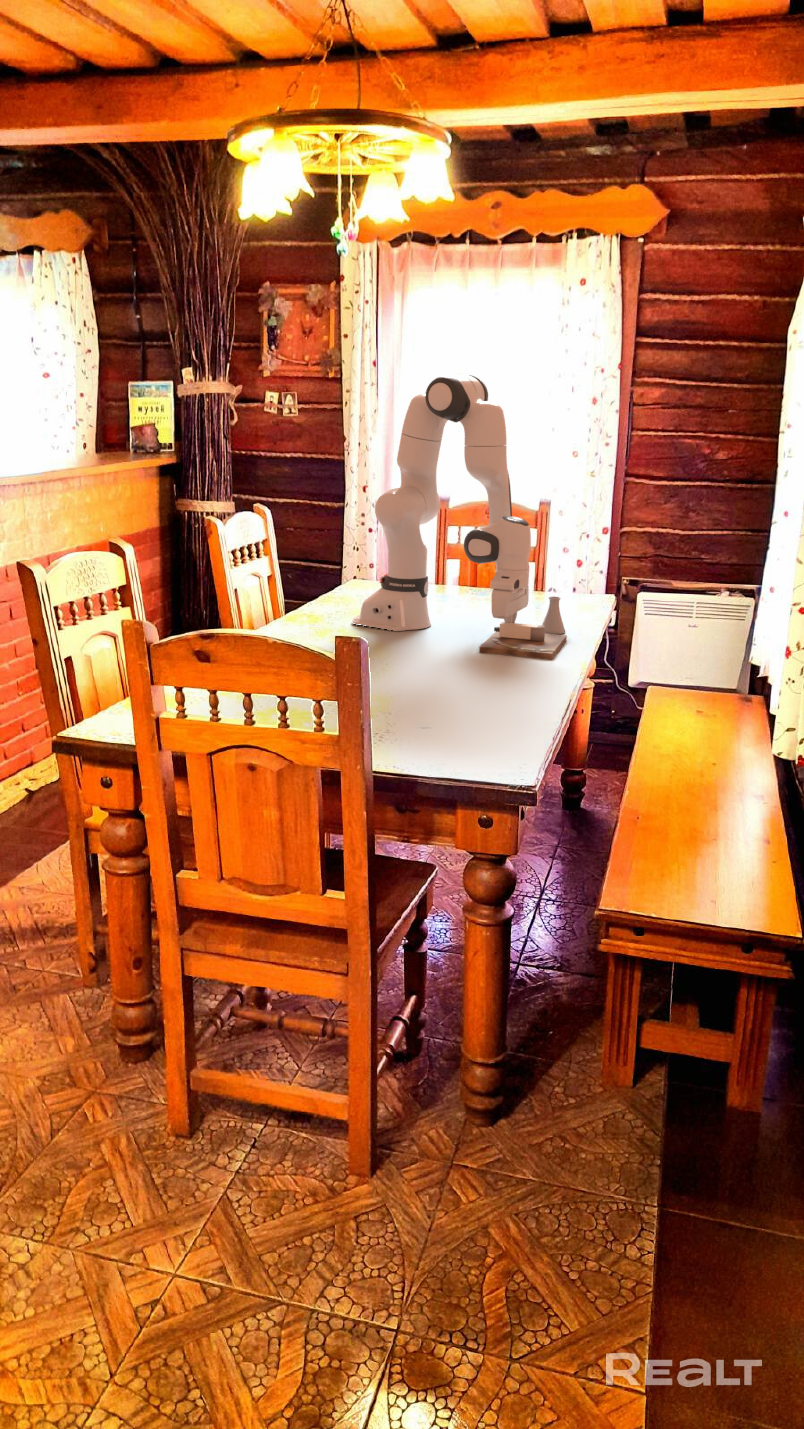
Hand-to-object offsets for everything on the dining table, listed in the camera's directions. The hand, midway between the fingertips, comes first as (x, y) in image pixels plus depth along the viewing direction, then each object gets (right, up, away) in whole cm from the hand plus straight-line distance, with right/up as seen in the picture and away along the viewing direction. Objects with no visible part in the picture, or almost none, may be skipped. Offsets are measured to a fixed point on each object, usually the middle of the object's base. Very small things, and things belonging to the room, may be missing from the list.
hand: (509, 628), depth 283 cm
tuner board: (+3, -5, -6) cm, 8 cm away
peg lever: (+2, -3, -4) cm, 5 cm away
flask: (+13, 0, +12) cm, 18 cm away
